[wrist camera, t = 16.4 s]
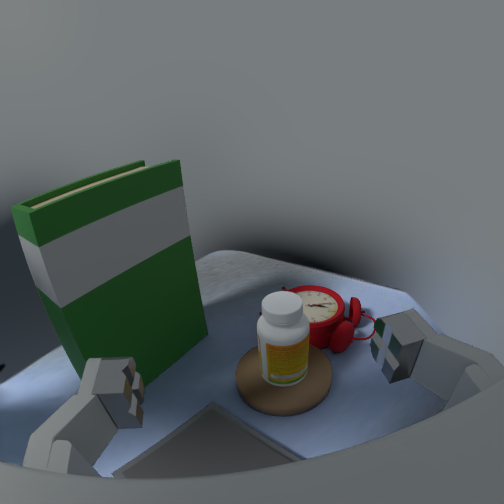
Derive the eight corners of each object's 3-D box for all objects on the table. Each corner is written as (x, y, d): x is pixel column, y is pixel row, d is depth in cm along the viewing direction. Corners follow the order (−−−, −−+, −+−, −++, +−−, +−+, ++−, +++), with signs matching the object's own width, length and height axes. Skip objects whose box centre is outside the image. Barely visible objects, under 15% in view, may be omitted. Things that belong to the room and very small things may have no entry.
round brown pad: (217, 384, 35) (215, 376, 35) (276, 337, 42) (276, 328, 42) (293, 432, 28) (293, 425, 28) (348, 369, 36) (349, 361, 35)
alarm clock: (284, 278, 50) (380, 277, 41) (292, 312, 52) (383, 315, 43) (250, 315, 42) (363, 321, 33) (262, 352, 44) (367, 363, 35)
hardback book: (172, 317, 48) (139, 160, 38) (208, 333, 44) (179, 159, 34) (82, 383, 35) (10, 207, 25) (113, 412, 31) (29, 213, 21)
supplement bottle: (317, 371, 34) (322, 302, 30) (281, 396, 31) (278, 326, 27) (286, 348, 38) (285, 281, 34) (250, 369, 35) (243, 300, 31)
